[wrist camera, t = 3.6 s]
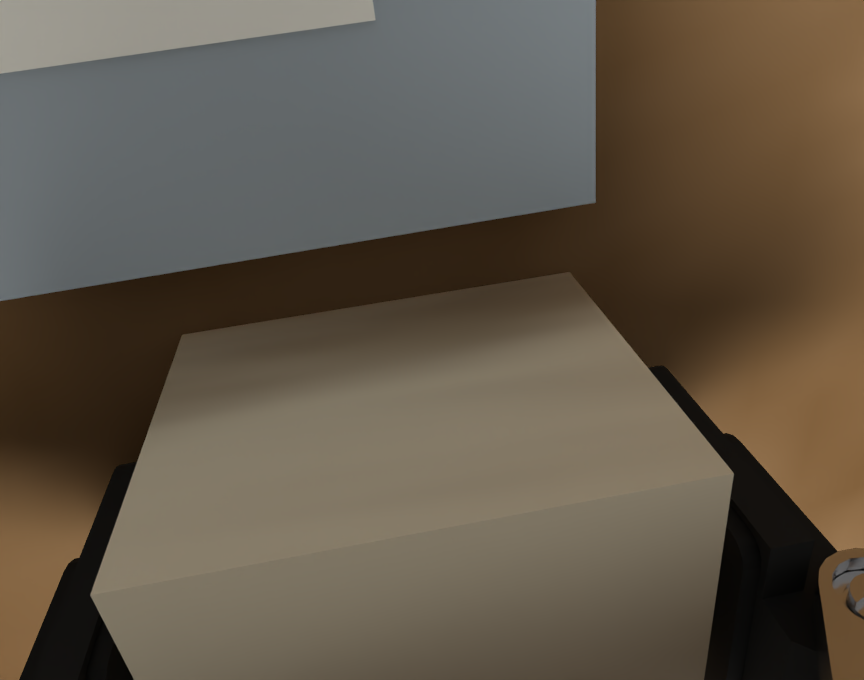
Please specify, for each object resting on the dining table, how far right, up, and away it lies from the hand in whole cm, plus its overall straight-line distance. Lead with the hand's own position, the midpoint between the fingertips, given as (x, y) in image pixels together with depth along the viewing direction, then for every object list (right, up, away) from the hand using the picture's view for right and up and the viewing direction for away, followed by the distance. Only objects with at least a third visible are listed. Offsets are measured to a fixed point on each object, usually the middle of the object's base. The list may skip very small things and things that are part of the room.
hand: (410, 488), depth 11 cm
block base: (0, 0, +1) cm, 1 cm away
